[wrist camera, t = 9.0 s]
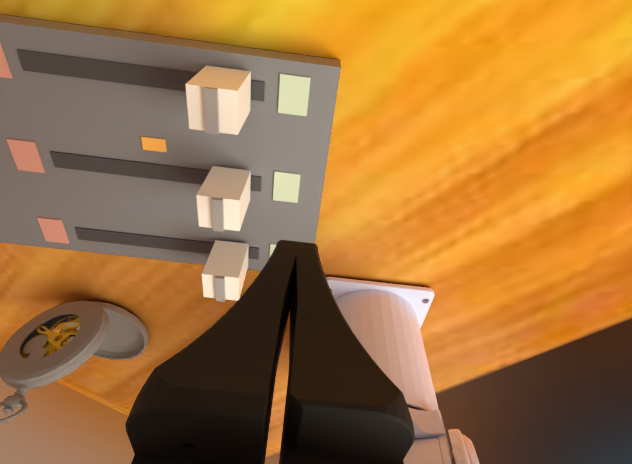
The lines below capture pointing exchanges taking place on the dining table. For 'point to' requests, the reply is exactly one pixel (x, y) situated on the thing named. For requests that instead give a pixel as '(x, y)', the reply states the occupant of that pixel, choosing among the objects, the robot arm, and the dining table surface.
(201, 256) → the panel
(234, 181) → the handle
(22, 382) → the pocket watch
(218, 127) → the handle
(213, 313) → the dining table surface
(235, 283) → the handle
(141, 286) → the dining table surface
